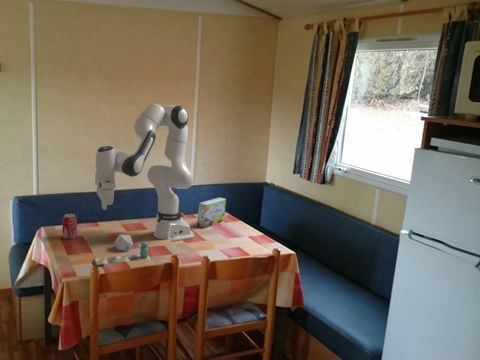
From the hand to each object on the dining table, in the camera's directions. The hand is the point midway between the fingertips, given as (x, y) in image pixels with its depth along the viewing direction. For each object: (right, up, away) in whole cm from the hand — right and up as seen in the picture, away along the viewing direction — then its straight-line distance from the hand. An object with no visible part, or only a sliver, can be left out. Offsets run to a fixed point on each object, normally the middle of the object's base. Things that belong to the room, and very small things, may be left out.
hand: (104, 208), depth 226 cm
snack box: (+47, -14, +63) cm, 80 cm away
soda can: (-24, -16, +20) cm, 35 cm away
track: (+10, -25, -3) cm, 27 cm away
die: (+7, -22, +9) cm, 25 cm away
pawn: (+19, -23, +1) cm, 30 cm away
